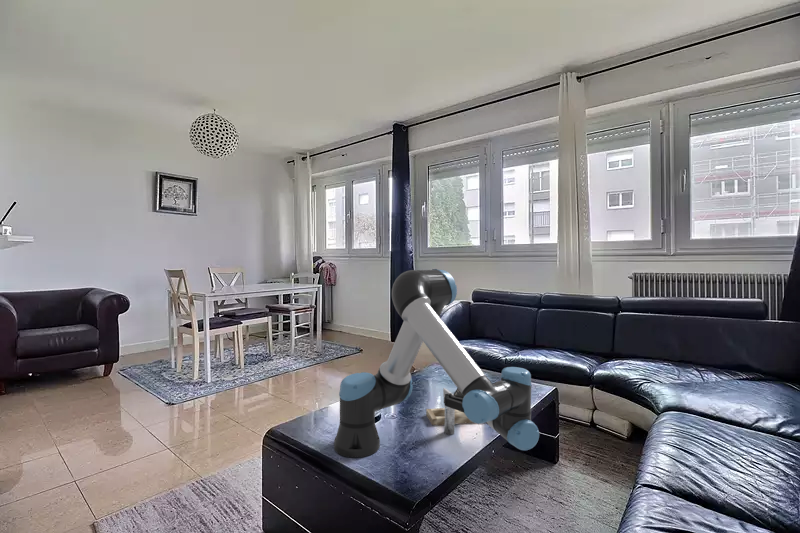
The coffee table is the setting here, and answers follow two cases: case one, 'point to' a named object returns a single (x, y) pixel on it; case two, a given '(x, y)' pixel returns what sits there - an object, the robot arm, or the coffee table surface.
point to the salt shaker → (449, 420)
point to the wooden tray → (434, 420)
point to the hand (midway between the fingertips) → (463, 390)
